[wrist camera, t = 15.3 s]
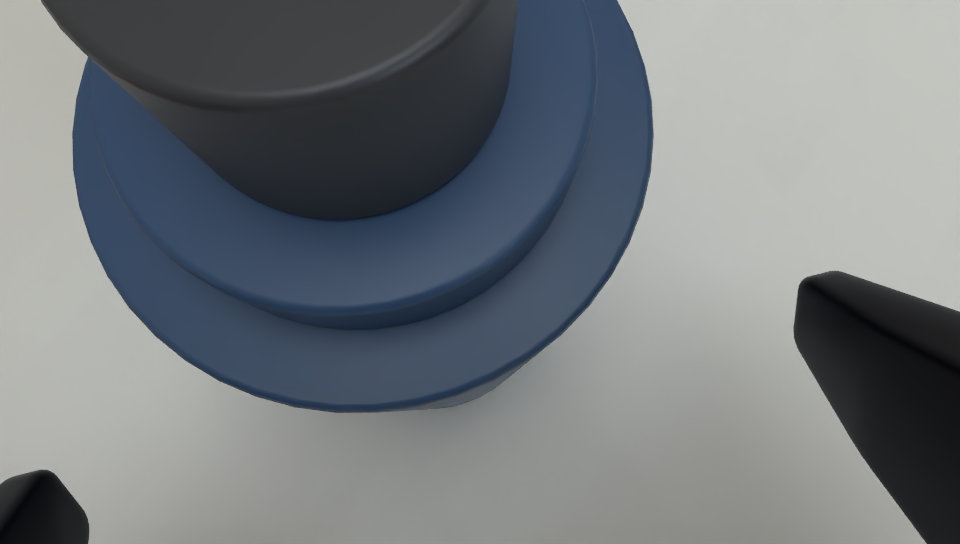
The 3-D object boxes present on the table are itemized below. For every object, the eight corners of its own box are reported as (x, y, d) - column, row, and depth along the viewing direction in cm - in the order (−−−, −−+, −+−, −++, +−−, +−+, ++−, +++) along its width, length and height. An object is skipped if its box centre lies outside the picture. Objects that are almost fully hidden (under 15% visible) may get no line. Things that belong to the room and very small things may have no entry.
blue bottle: (522, 429, 16) (749, 536, 3) (290, 383, 16) (-499, 285, 3) (562, 205, 17) (861, -464, 4) (344, 163, 17) (-68, -613, 4)
